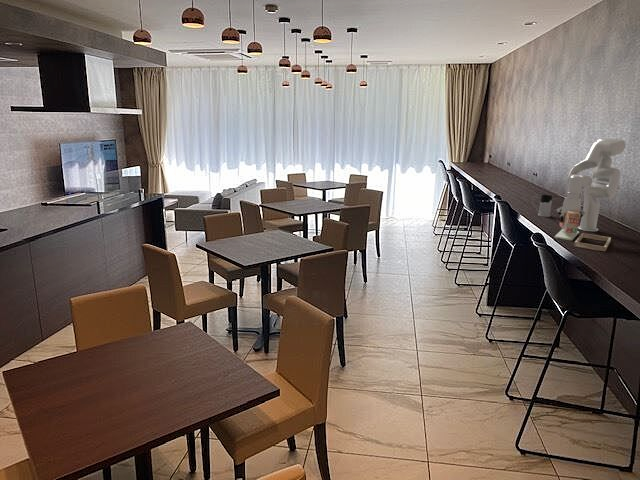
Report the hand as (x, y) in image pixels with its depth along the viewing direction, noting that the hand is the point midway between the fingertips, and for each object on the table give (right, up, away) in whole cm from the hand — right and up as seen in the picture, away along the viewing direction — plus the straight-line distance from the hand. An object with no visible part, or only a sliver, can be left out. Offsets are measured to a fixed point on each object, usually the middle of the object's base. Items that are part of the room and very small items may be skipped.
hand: (568, 223), depth 313 cm
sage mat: (0, -7, +2) cm, 8 cm away
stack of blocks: (0, -4, +1) cm, 4 cm away
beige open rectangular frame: (+5, -13, -17) cm, 22 cm away
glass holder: (+10, +8, +64) cm, 65 cm away
